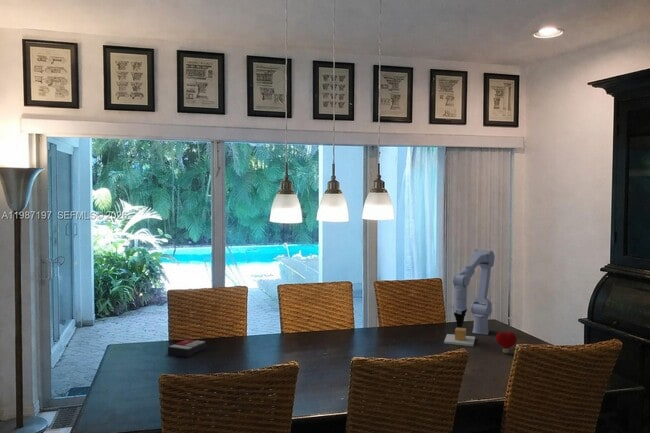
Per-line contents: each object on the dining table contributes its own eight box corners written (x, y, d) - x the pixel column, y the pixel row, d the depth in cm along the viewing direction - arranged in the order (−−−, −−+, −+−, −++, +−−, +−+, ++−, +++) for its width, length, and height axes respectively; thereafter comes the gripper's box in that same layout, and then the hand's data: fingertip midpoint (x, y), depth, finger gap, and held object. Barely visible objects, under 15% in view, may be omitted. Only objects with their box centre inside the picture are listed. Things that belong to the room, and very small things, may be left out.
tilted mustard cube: (455, 337, 271) (456, 327, 271) (465, 338, 270) (466, 328, 269) (454, 339, 267) (455, 330, 266) (465, 340, 265) (465, 331, 265)
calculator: (206, 340, 253) (188, 348, 239) (206, 349, 253) (188, 357, 239) (186, 338, 257) (167, 345, 243) (186, 347, 257) (167, 354, 243)
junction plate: (447, 335, 277) (447, 327, 277) (475, 338, 273) (475, 330, 272) (444, 343, 264) (444, 335, 264) (473, 346, 259) (473, 337, 259)
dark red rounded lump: (514, 351, 252) (514, 330, 251) (518, 356, 245) (518, 334, 244) (493, 350, 253) (494, 330, 252) (497, 355, 246) (497, 334, 245)
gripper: (454, 294, 275) (453, 320, 276) (451, 300, 261) (450, 328, 262) (468, 295, 273) (467, 322, 274) (466, 301, 259) (465, 329, 260)
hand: (460, 325), depth 268 cm, fingers open, 7 cm apart
